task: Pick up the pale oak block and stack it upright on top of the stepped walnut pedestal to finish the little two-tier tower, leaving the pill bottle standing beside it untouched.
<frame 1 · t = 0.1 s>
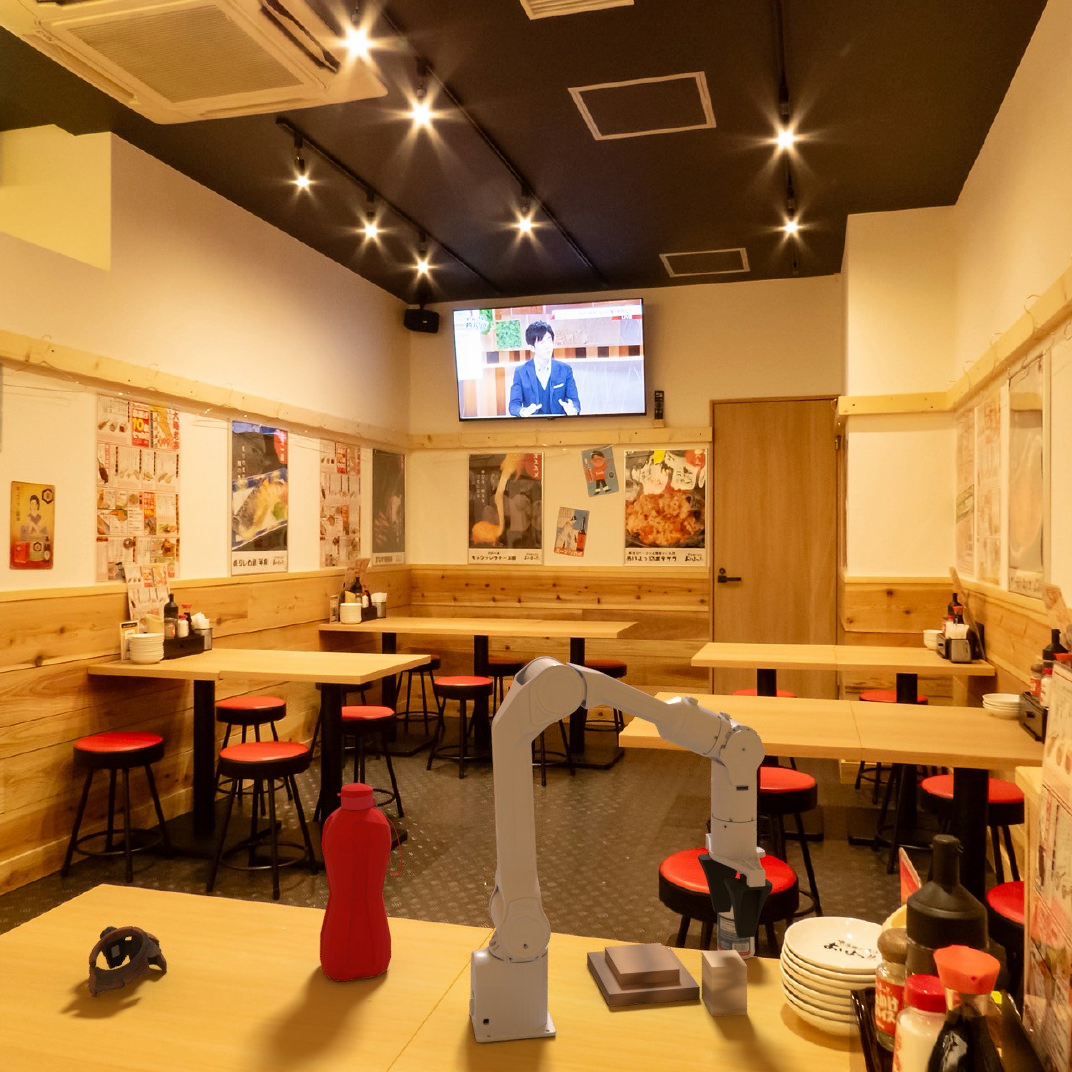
hand: (733, 923, 112), 10 cm above the table, fingers open, 7 cm apart
oak block: (723, 1006, 112), on the table
pill bottle: (735, 953, 127), on the table
dark brown ring housing: (124, 983, 117), on the table
walnut pedestal: (641, 980, 118), on the table
water bottle: (361, 968, 122), on the table
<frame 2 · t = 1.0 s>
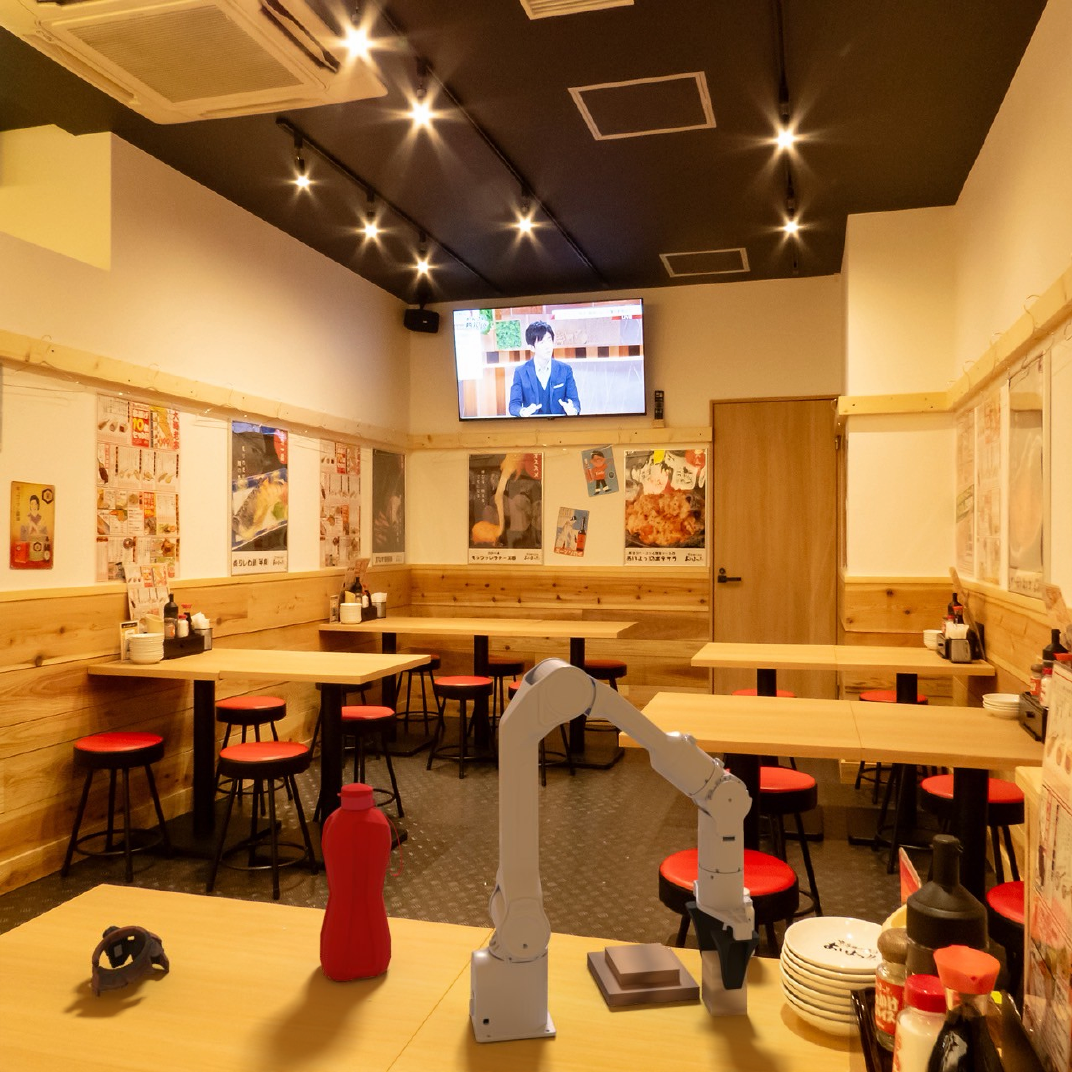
hand: (720, 973, 112), 4 cm above the table, fingers open, 7 cm apart
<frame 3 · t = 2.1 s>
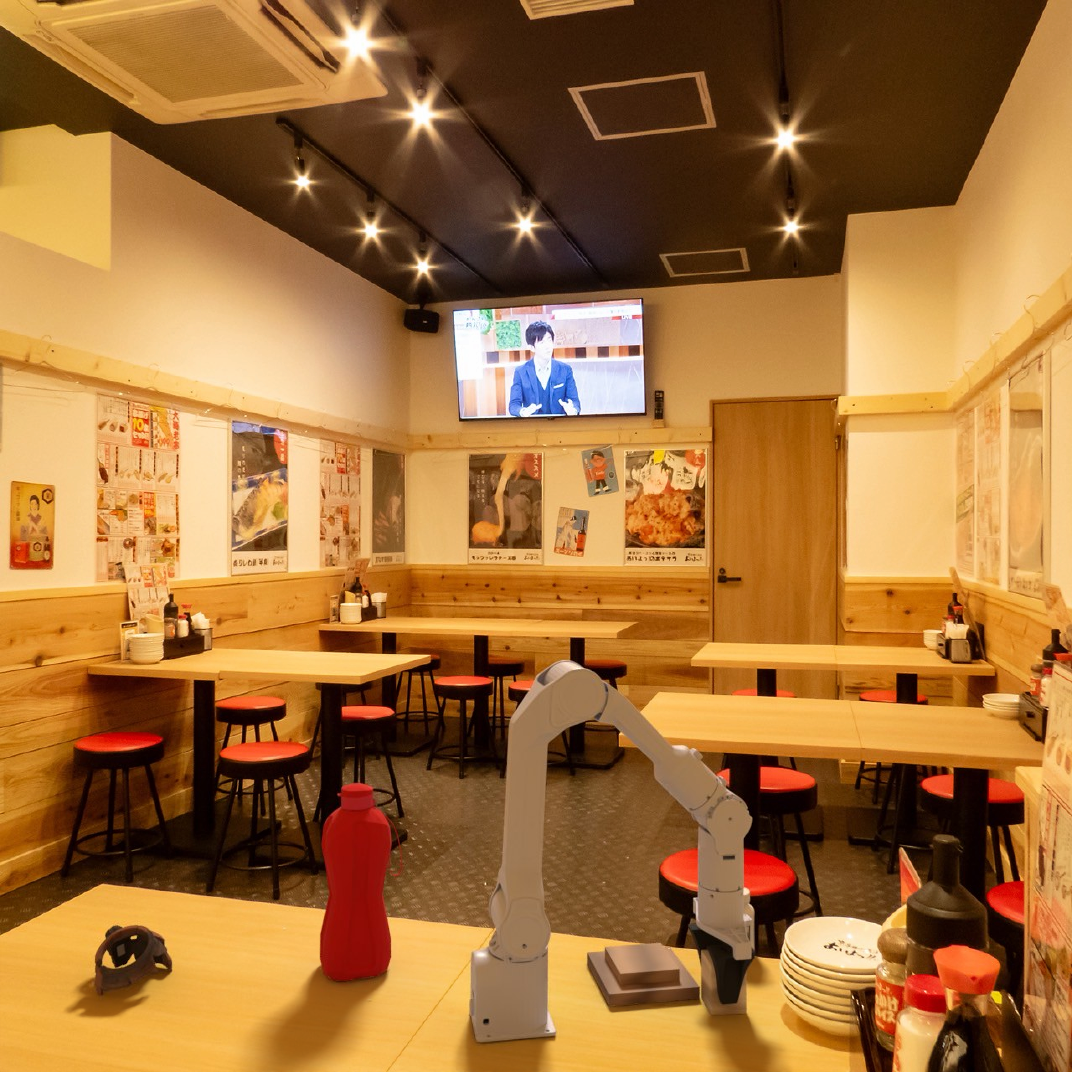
hand: (720, 992, 112), 2 cm above the table, fingers closed on oak block, 5 cm apart
oak block: (723, 1005, 112), on the table, touching gripper
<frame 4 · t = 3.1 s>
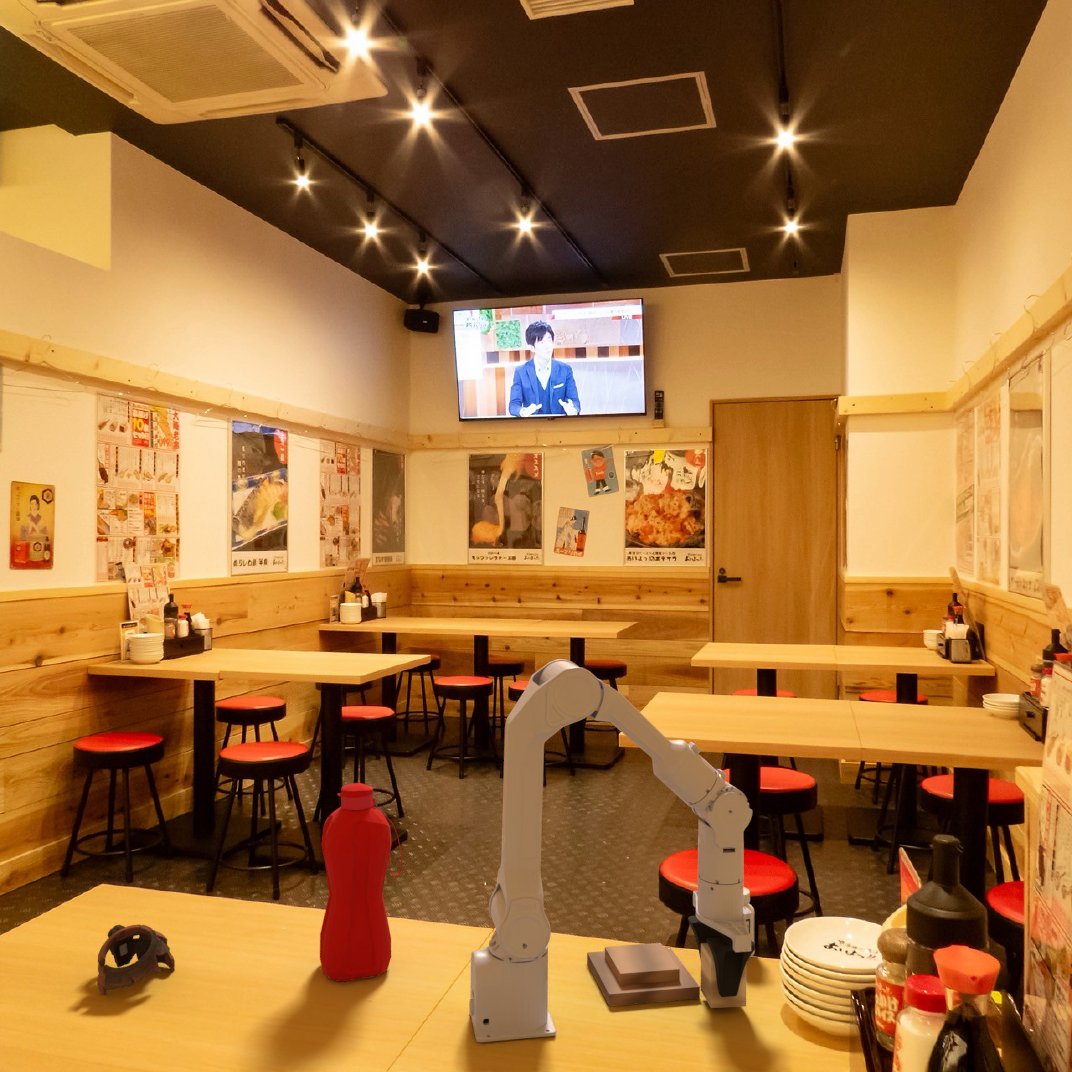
hand: (720, 985, 112), 3 cm above the table, fingers closed on oak block, 5 cm apart
oak block: (722, 998, 112), point 1 cm above the table, touching gripper
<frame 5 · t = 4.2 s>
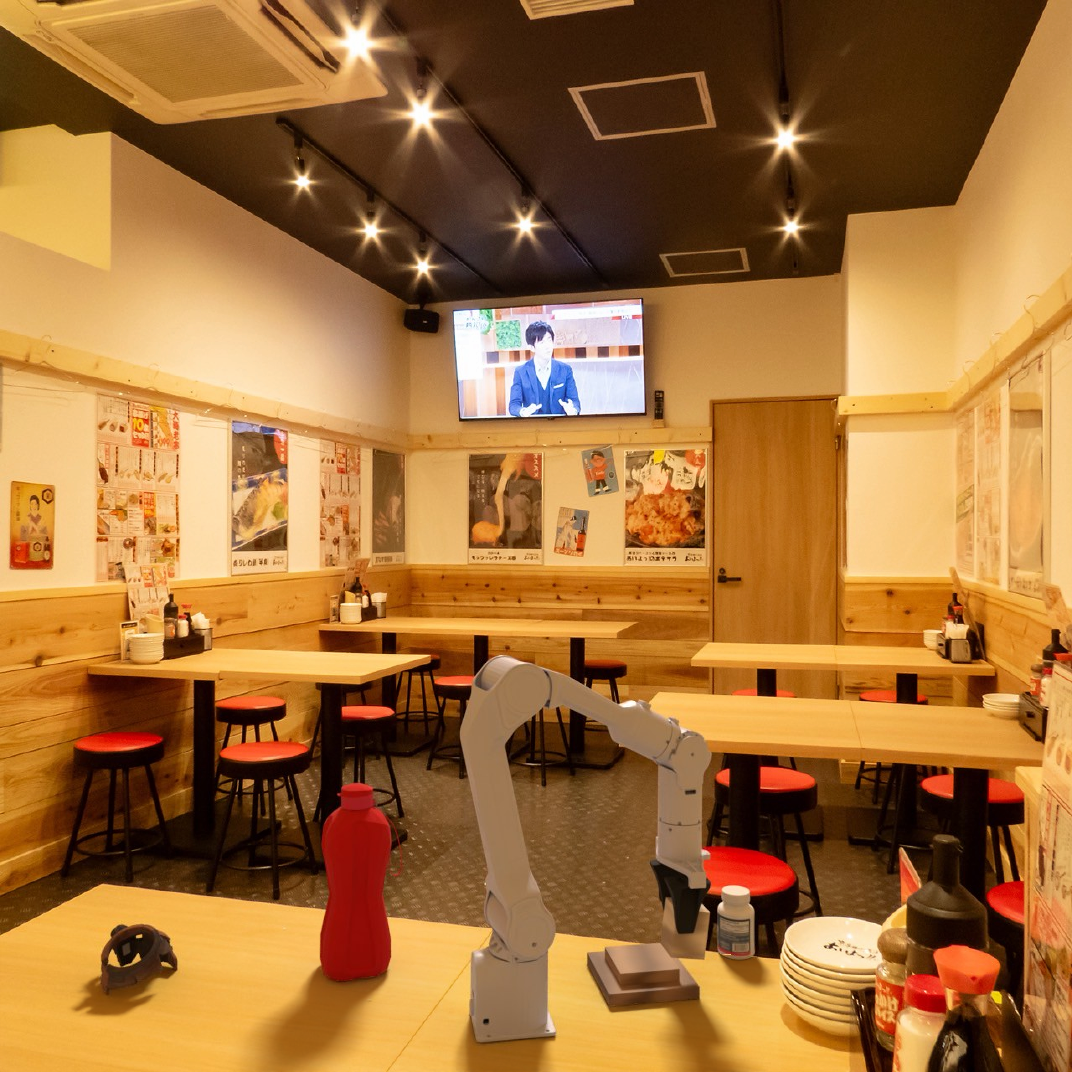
hand: (678, 924, 115), 9 cm above the table, fingers closed on oak block, 4 cm apart
oak block: (681, 951, 115), point 5 cm above the table, tilted 8°, touching gripper
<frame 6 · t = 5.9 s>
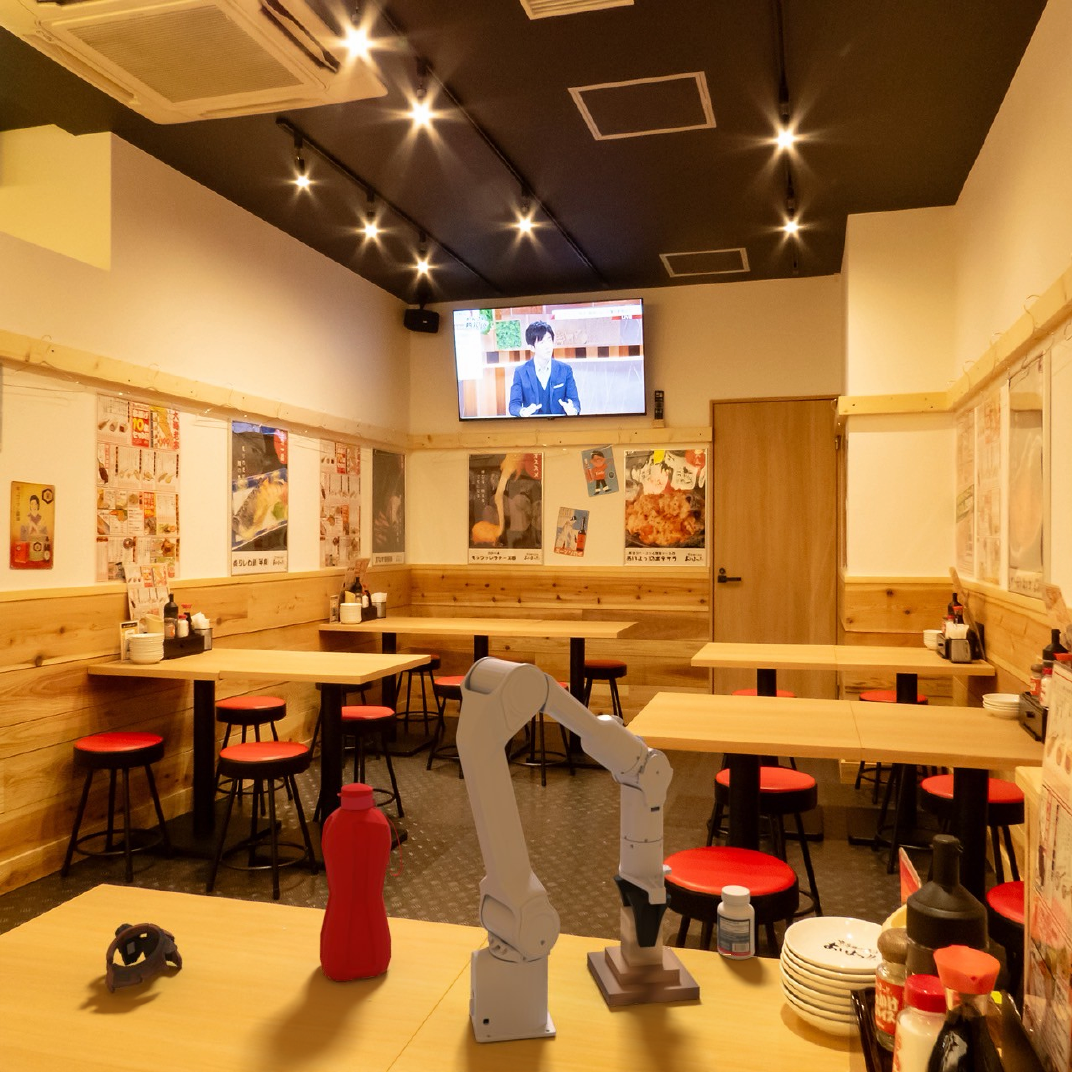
hand: (641, 937, 119), 6 cm above the table, fingers closed on oak block, 4 cm apart
oak block: (641, 957, 118), point 3 cm above the table, touching gripper, walnut pedestal
when the fingers open (6 cm above the table, at t = 6.0 s): oak block stays where it is, resting on walnut pedestal.
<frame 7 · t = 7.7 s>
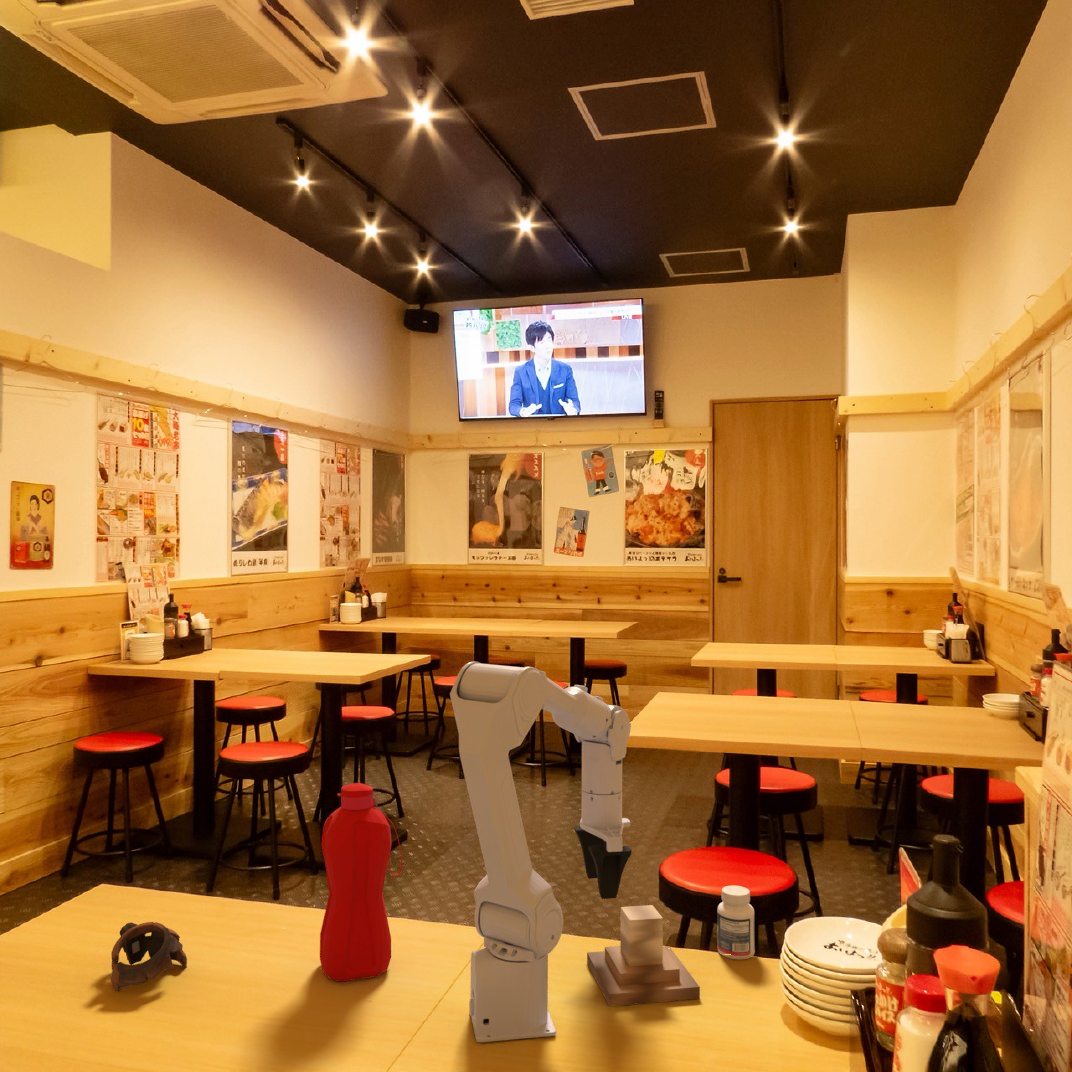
hand: (601, 887, 124), 10 cm above the table, fingers open, 7 cm apart
oak block: (641, 957, 118), point 3 cm above the table, touching walnut pedestal
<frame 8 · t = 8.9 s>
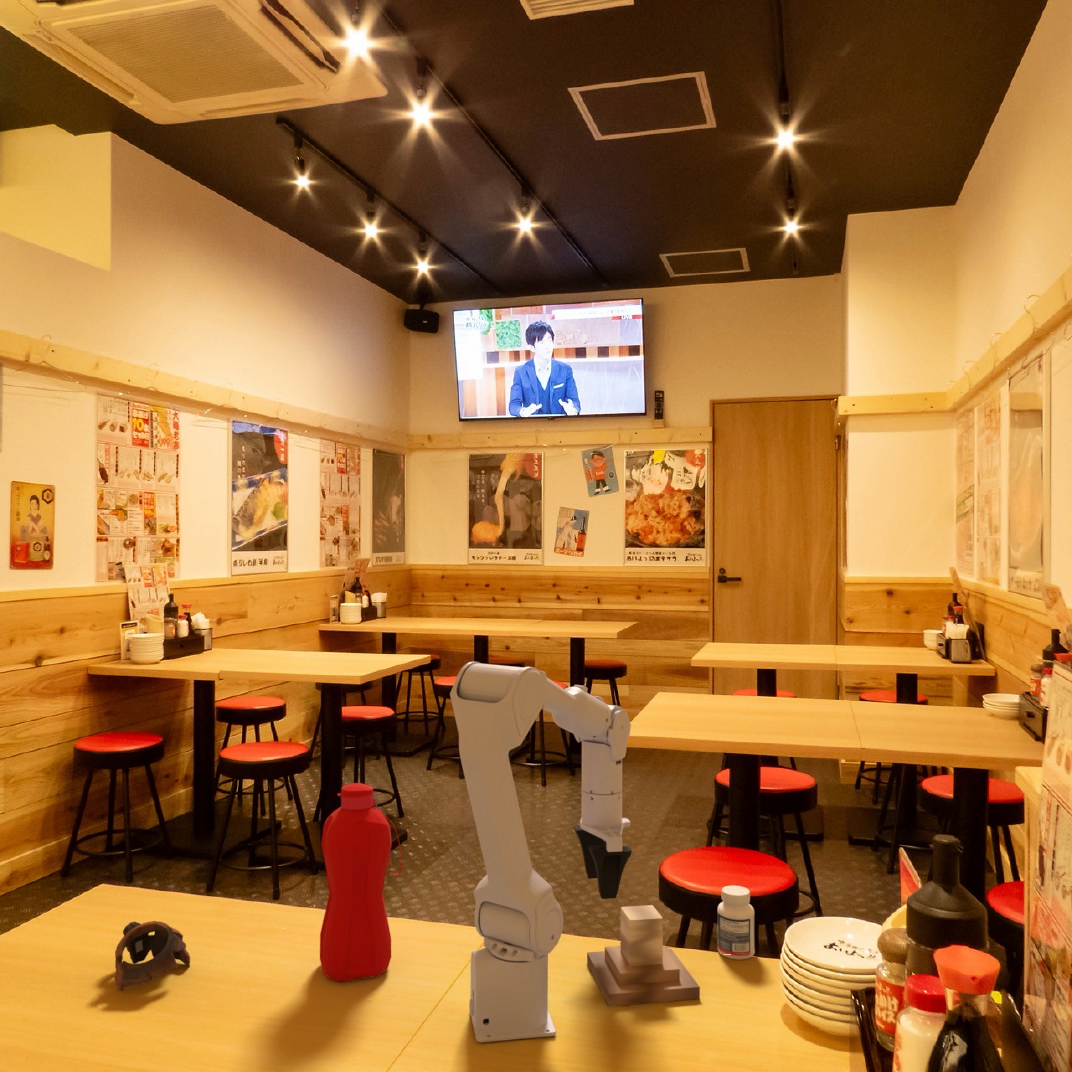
hand: (601, 887, 124), 10 cm above the table, fingers open, 7 cm apart
at the end: oak block 0.0 cm from the walnut pedestal (horizontally); oak block point 3.0 cm above the table; oak block tilted 0° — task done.
